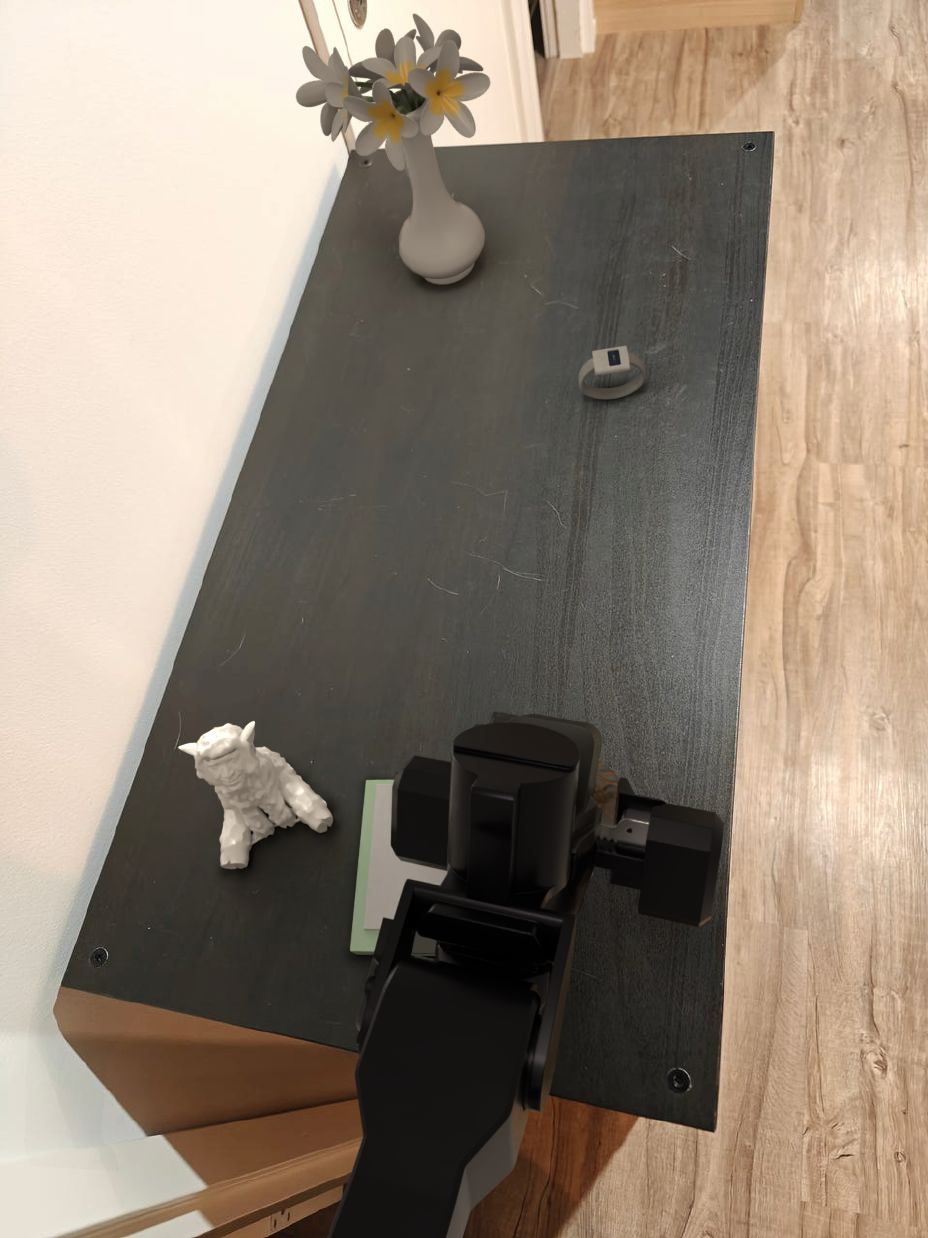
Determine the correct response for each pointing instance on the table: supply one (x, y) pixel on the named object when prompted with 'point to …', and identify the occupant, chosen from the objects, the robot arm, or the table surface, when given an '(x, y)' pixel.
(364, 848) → the scale
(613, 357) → the wristwatch
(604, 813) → the vase
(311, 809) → the sitting furry creature
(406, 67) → the flower vase
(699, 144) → the table surface
